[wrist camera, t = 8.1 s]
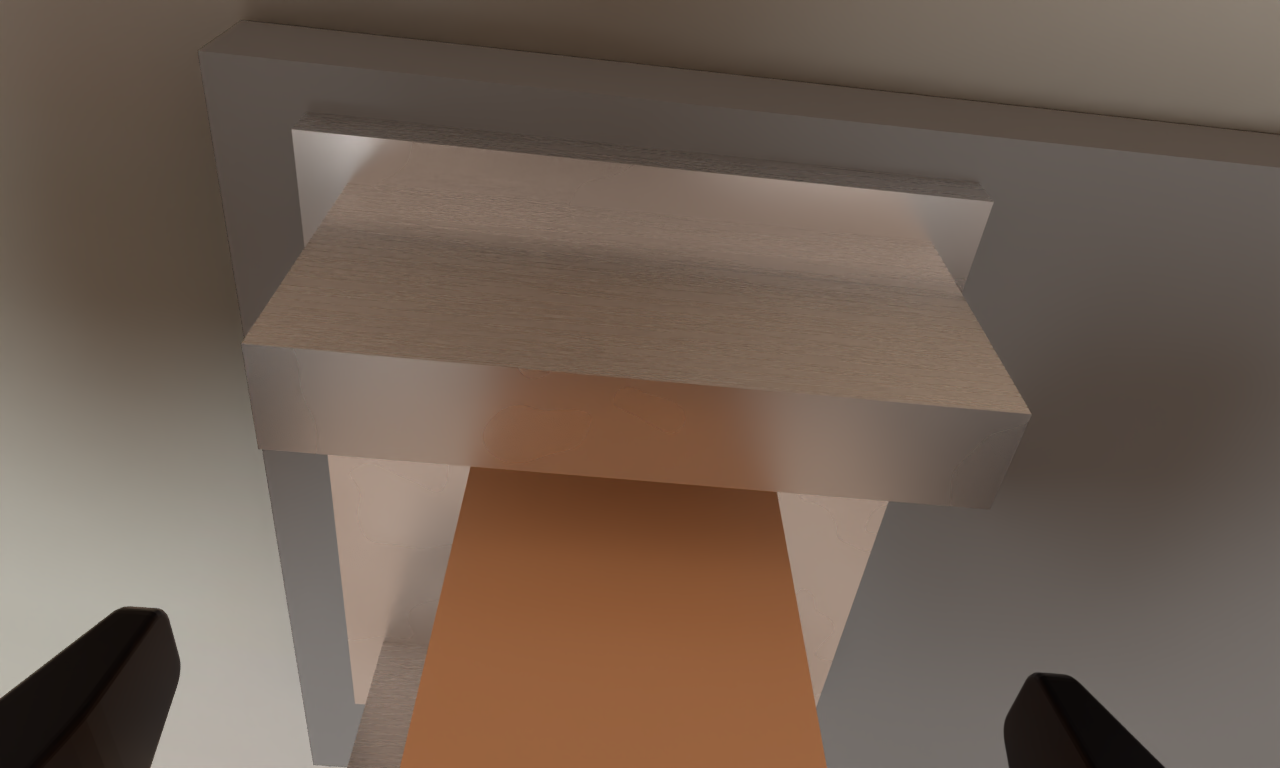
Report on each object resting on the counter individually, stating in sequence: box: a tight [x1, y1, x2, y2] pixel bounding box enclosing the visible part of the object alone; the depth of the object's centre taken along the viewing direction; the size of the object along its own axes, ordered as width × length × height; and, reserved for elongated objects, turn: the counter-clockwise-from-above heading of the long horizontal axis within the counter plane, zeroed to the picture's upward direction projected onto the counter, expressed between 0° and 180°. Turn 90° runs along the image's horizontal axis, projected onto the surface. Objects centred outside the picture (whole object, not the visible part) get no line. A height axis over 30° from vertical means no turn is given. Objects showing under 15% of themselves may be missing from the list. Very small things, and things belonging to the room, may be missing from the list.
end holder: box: [241, 112, 1032, 768], centre depth 11 cm, size 9×7×4 cm
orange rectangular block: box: [400, 467, 827, 768], centre depth 9 cm, size 4×3×6 cm
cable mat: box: [198, 20, 1280, 768], centre depth 13 cm, size 12×20×1 cm, turn 84°
